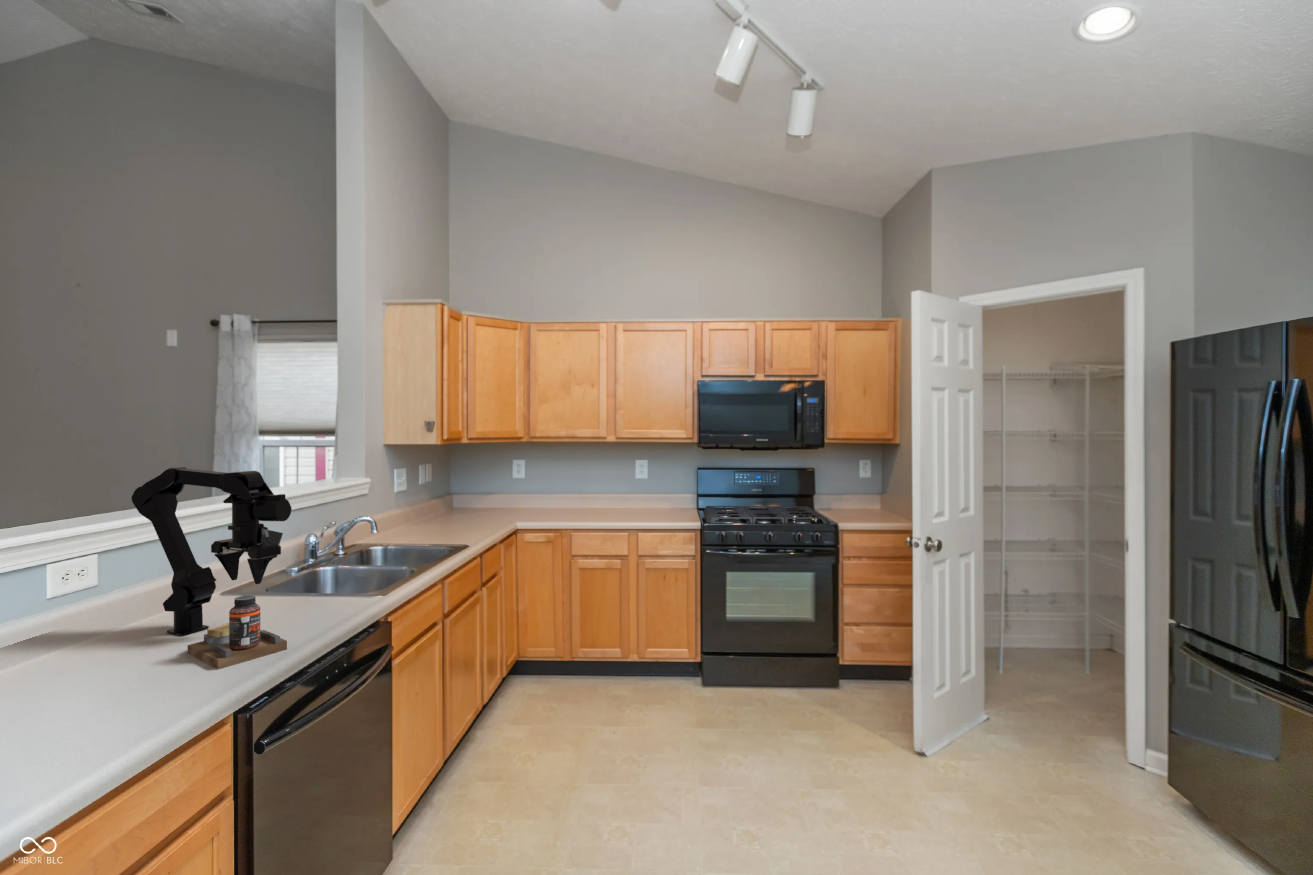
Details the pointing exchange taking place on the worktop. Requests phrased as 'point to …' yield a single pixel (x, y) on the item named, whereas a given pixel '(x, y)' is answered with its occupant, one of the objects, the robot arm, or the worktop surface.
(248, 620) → the supplement bottle
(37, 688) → the worktop surface
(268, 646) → the shelf board
